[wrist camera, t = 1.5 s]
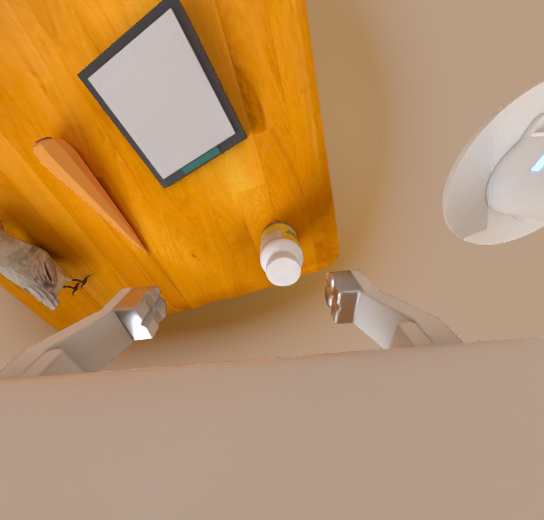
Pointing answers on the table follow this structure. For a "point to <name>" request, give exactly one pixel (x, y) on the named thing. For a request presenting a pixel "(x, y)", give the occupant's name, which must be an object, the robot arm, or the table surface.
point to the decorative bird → (32, 269)
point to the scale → (165, 94)
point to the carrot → (81, 182)
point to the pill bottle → (281, 254)
